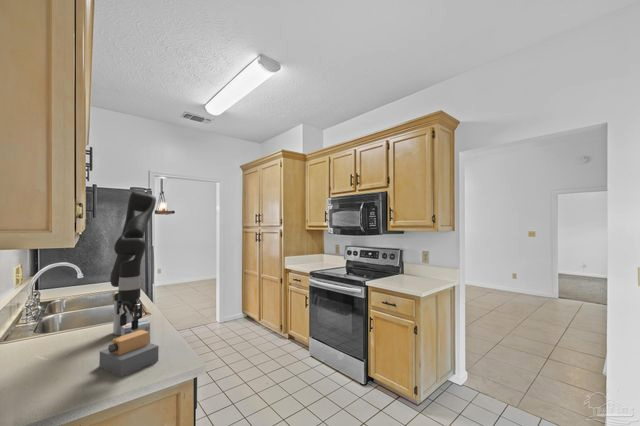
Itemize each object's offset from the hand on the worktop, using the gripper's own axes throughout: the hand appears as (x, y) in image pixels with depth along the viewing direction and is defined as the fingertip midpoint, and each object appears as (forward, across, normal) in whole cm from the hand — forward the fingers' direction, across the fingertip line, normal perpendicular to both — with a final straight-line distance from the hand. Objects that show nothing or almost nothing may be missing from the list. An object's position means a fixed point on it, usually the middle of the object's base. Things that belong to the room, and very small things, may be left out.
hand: (128, 327), depth 116 cm
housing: (+8, 0, -1) cm, 9 cm away
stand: (+14, 0, 0) cm, 15 cm away
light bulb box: (+15, +14, -10) cm, 23 cm away
